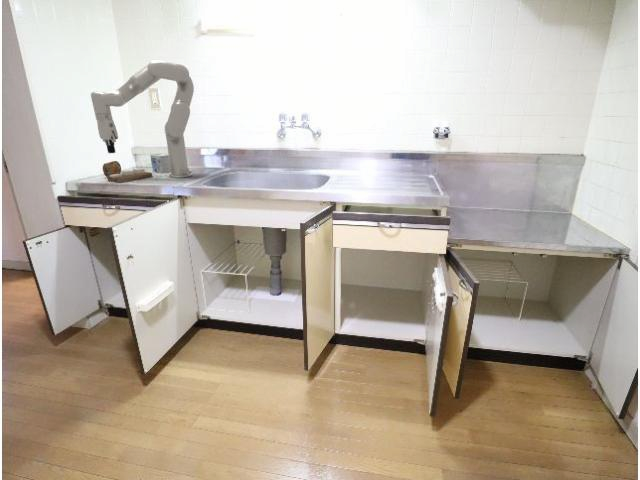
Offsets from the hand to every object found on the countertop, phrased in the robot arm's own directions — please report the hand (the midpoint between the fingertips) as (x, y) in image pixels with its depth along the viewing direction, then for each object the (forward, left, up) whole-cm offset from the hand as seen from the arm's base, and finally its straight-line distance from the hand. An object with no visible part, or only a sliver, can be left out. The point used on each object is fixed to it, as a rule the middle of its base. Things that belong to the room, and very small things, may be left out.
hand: (111, 152), depth 195 cm
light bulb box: (+3, -31, -16) cm, 35 cm away
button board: (-2, -7, -15) cm, 17 cm away
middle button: (0, -7, -14) cm, 15 cm away
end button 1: (0, 0, -15) cm, 15 cm away
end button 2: (0, -14, -14) cm, 19 cm away
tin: (+16, -7, -16) cm, 24 cm away
